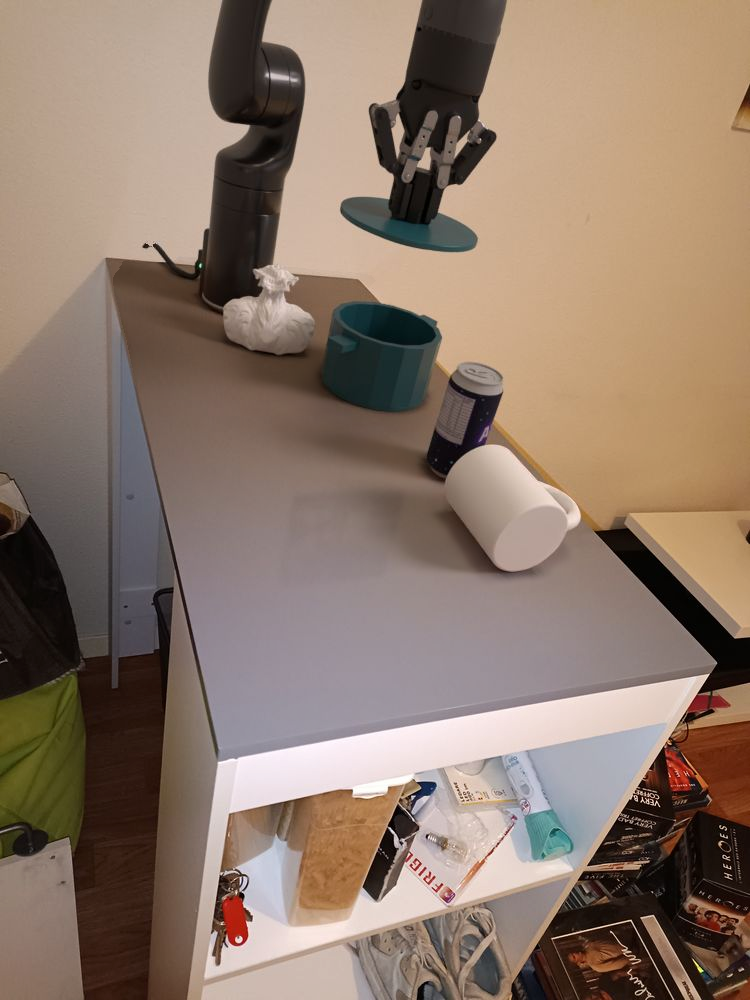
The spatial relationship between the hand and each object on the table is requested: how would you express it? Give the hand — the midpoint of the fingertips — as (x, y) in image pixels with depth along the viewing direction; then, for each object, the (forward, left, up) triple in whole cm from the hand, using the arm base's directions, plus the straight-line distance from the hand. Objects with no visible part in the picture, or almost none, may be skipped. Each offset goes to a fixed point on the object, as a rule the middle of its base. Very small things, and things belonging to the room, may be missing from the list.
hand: (410, 219), depth 77 cm
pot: (-4, +6, -23) cm, 24 cm away
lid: (0, 0, -1) cm, 1 cm away
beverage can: (+14, -2, -23) cm, 27 cm away
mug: (+25, -7, -23) cm, 35 cm away
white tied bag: (-19, +1, -23) cm, 29 cm away
